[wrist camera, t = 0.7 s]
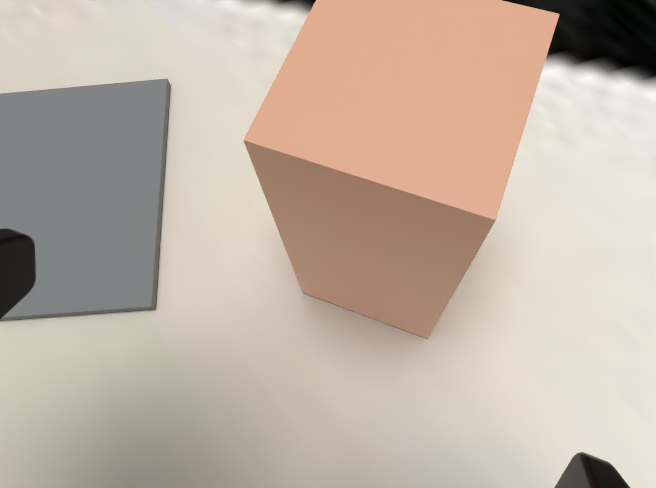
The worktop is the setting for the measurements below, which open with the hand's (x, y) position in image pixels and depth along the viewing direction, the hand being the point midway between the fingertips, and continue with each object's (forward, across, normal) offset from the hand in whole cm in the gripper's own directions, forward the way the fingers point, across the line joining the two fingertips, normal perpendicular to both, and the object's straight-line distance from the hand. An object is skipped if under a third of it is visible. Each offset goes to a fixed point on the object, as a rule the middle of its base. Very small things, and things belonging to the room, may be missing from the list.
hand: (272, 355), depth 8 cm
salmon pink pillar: (+15, 0, +5) cm, 15 cm away
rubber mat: (+13, +16, +7) cm, 22 cm away
